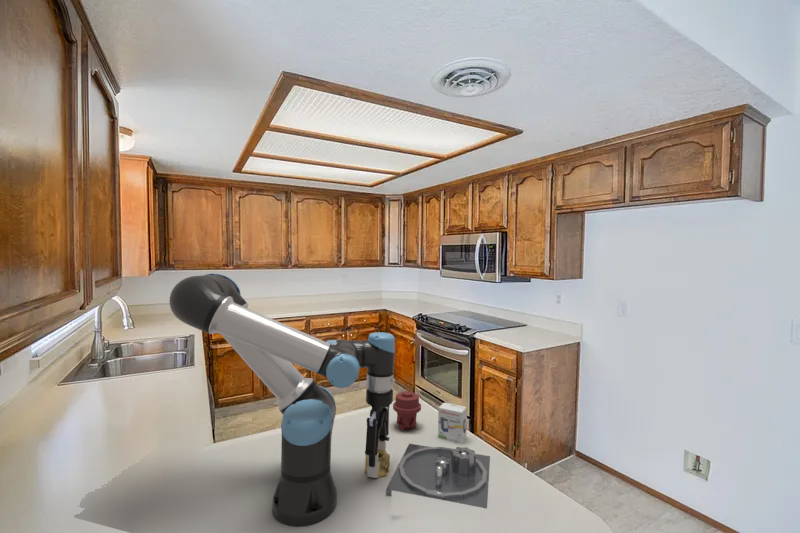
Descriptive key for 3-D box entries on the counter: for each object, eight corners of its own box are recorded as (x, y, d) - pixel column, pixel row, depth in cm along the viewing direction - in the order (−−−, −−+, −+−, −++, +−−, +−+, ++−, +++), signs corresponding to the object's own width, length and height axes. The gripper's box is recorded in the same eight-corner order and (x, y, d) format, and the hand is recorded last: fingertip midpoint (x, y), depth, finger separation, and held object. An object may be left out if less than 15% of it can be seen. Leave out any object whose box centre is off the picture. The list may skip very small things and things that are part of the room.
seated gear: (477, 475, 104) (478, 459, 103) (453, 474, 104) (453, 458, 103) (472, 462, 110) (473, 447, 110) (450, 462, 110) (450, 446, 110)
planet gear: (384, 479, 103) (385, 463, 103) (362, 475, 105) (362, 459, 105) (391, 466, 109) (392, 451, 109) (370, 463, 111) (370, 447, 111)
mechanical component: (394, 420, 141) (421, 422, 140) (390, 432, 131) (419, 434, 130) (395, 387, 141) (422, 389, 140) (391, 397, 131) (420, 398, 130)
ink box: (466, 442, 126) (467, 406, 126) (461, 448, 121) (462, 412, 121) (442, 435, 130) (443, 401, 130) (436, 442, 125) (437, 406, 125)
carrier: (486, 514, 90) (487, 489, 90) (386, 494, 96) (386, 471, 96) (489, 461, 114) (490, 441, 114) (409, 448, 121) (409, 429, 120)
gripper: (382, 402, 96) (378, 492, 97) (401, 380, 115) (398, 455, 115) (354, 398, 98) (351, 486, 99) (377, 377, 117) (374, 451, 117)
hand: (376, 469), depth 107 cm, fingers closed on planet gear, 6 cm apart
